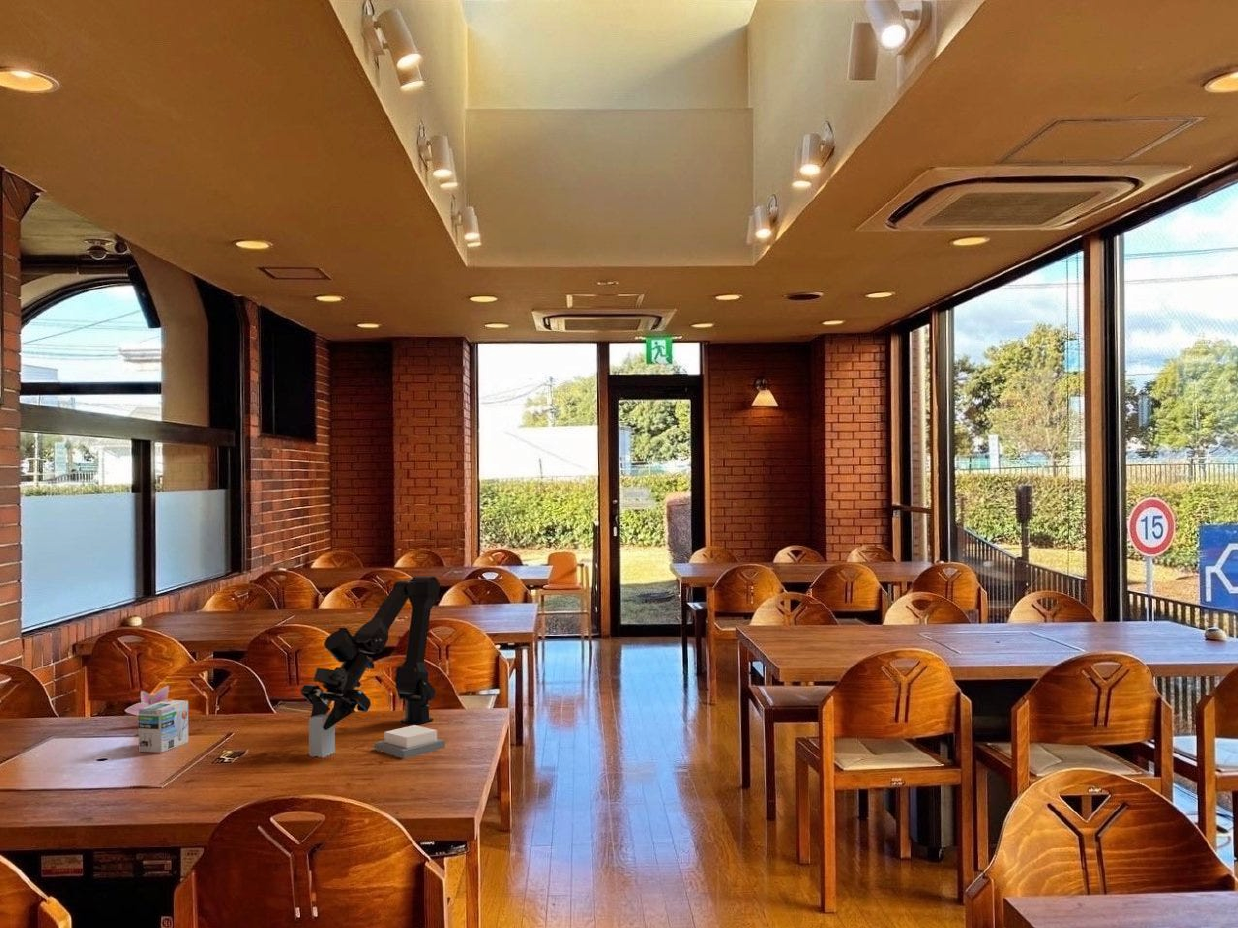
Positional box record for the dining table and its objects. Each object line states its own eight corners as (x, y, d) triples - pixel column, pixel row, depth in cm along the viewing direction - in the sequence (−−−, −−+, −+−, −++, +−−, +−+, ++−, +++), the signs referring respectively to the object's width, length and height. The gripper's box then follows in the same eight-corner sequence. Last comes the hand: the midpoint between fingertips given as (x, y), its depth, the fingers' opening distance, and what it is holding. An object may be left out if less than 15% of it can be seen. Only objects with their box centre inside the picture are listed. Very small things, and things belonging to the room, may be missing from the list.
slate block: (309, 755, 229) (308, 717, 229) (322, 750, 233) (321, 713, 233) (322, 757, 227) (321, 719, 227) (335, 752, 231) (334, 715, 231)
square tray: (374, 752, 233) (374, 742, 233) (414, 742, 242) (414, 732, 242) (404, 761, 225) (404, 750, 225) (444, 750, 234) (444, 740, 234)
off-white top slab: (384, 742, 233) (384, 731, 233) (414, 734, 240) (414, 724, 240) (407, 748, 227) (406, 737, 227) (437, 740, 234) (437, 730, 234)
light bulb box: (161, 753, 233) (161, 709, 233) (137, 752, 235) (137, 708, 235) (189, 742, 244) (189, 699, 244) (166, 741, 245) (166, 698, 245)
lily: (119, 731, 260) (119, 704, 256) (147, 705, 271) (148, 678, 267) (159, 745, 259) (160, 718, 255) (186, 718, 269) (187, 692, 265)
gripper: (305, 651, 238) (270, 705, 228) (361, 656, 230) (328, 713, 220) (329, 677, 245) (296, 730, 235) (384, 683, 236) (353, 739, 226)
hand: (317, 727), depth 229 cm, fingers closed on slate block, 4 cm apart
